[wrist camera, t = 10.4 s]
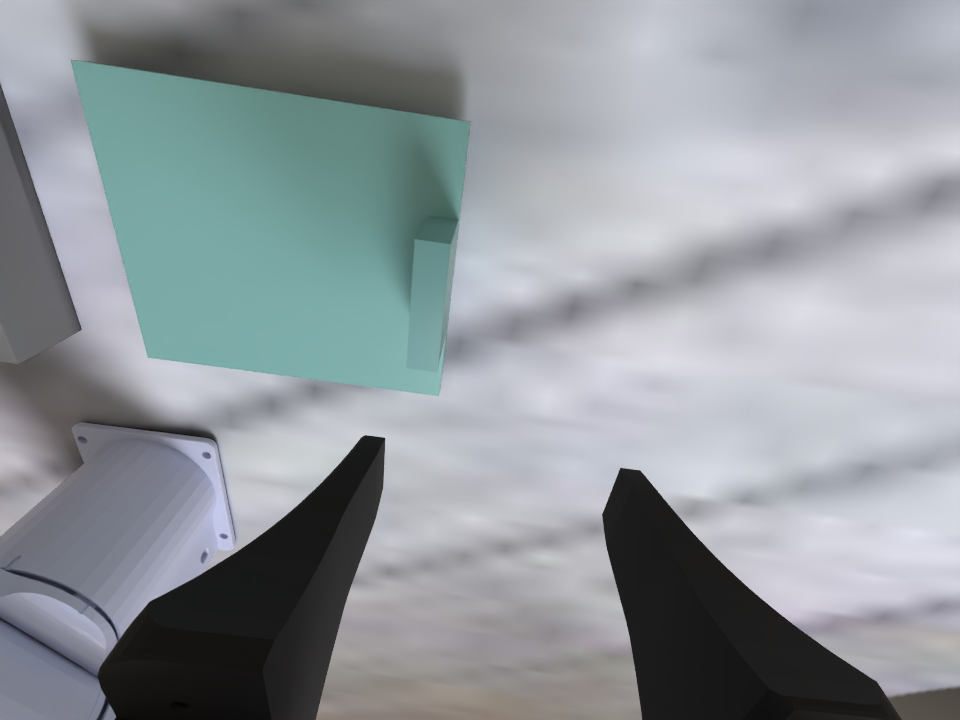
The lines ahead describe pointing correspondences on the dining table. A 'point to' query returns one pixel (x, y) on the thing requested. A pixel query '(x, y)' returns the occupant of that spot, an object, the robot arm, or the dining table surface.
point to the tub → (27, 261)
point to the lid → (280, 225)
